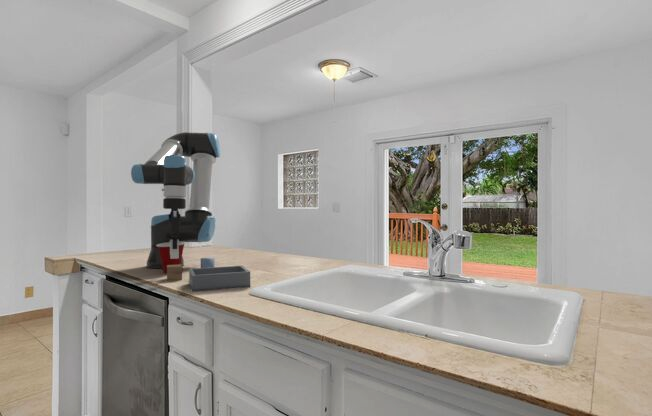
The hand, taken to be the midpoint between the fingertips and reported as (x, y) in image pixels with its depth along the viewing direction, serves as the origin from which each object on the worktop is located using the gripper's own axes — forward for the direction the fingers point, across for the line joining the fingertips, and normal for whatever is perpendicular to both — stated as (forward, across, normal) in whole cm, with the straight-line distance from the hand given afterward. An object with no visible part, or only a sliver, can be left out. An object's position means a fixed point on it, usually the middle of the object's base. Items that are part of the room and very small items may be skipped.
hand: (174, 256), depth 132 cm
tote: (+8, +16, +14) cm, 23 cm away
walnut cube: (+8, -1, 0) cm, 8 cm away
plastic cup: (+8, -17, -1) cm, 19 cm away
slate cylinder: (+8, -1, +12) cm, 14 cm away
